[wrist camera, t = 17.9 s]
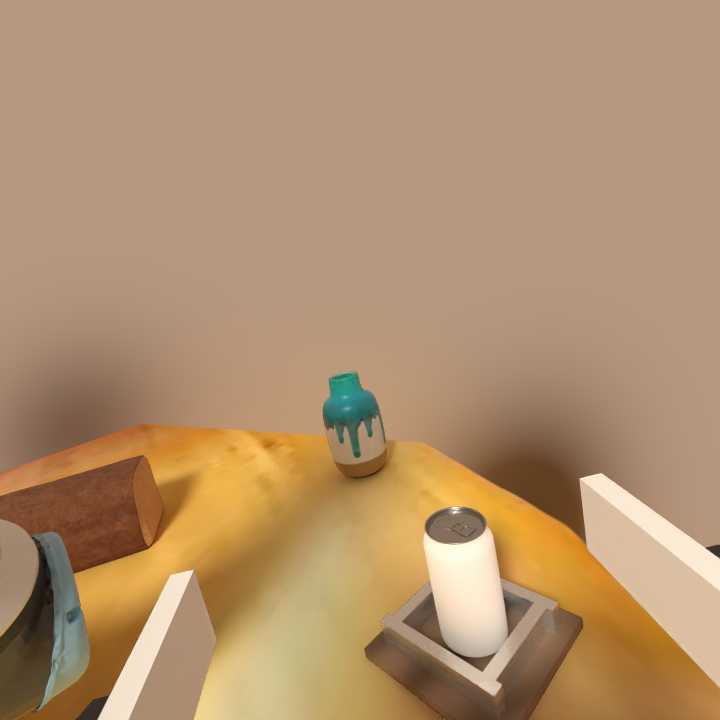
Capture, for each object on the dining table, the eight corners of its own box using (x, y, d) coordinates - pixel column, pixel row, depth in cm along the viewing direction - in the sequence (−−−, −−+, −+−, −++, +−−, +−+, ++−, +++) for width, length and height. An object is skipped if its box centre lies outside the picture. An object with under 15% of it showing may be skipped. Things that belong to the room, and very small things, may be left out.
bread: (-64, 580, 78) (-96, 512, 75) (166, 508, 86) (145, 445, 84) (-134, 647, 63) (-177, 566, 60) (152, 552, 72) (126, 477, 69)
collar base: (366, 656, 44) (364, 648, 44) (454, 568, 54) (452, 561, 53) (502, 762, 33) (500, 751, 33) (583, 626, 42) (582, 618, 42)
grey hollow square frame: (385, 642, 44) (380, 621, 44) (452, 574, 51) (448, 555, 51) (498, 721, 35) (494, 696, 34) (561, 624, 42) (558, 602, 41)
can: (466, 597, 48) (448, 497, 45) (522, 626, 43) (505, 516, 40) (427, 637, 44) (405, 531, 41) (484, 674, 39) (463, 556, 36)
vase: (374, 488, 76) (351, 383, 72) (325, 483, 82) (302, 385, 78) (401, 460, 85) (381, 365, 81) (355, 457, 91) (335, 368, 87)
